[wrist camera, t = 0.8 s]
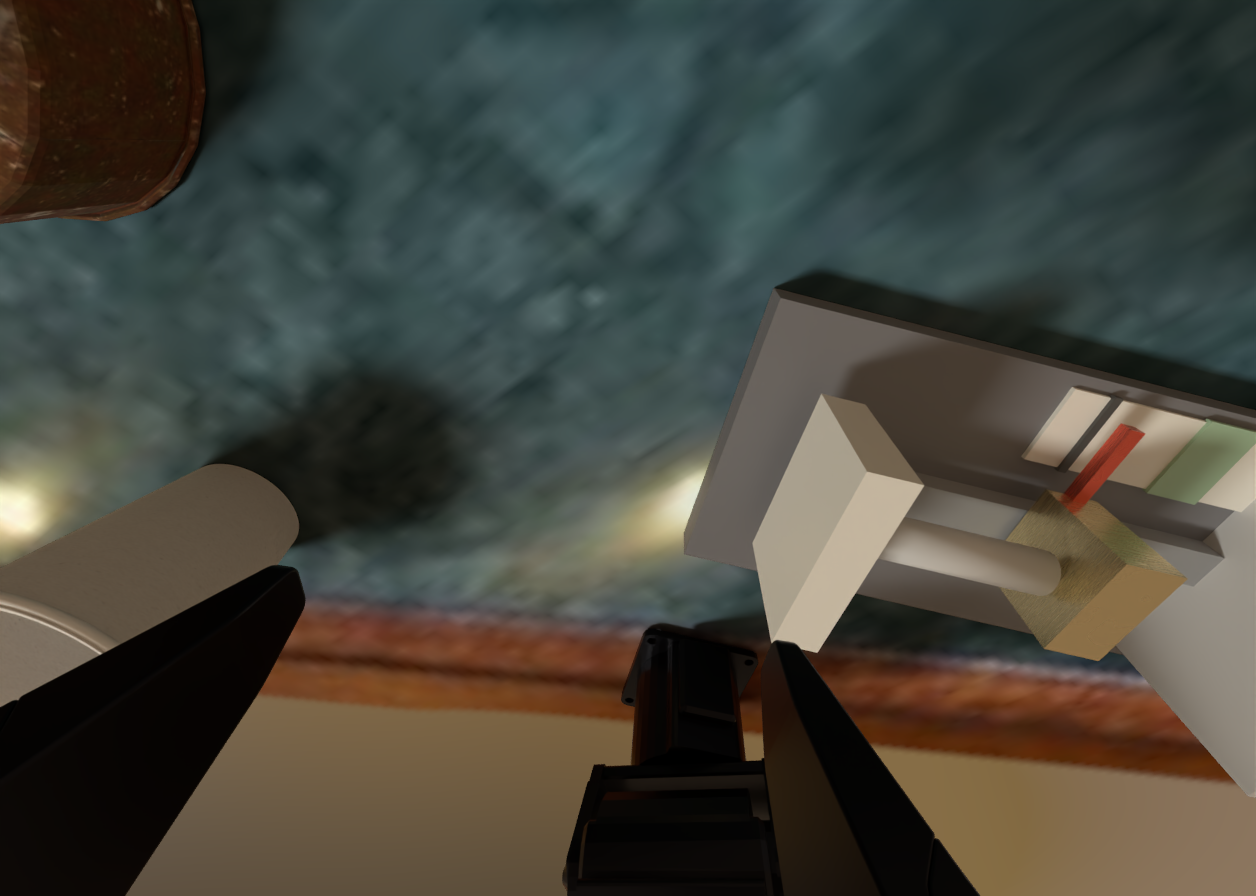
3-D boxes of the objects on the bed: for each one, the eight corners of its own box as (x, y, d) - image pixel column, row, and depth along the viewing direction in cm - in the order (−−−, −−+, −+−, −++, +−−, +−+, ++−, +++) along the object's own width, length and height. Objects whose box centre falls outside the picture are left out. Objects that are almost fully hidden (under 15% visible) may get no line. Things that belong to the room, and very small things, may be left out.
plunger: (952, 589, 22) (1020, 698, 18) (752, 543, 22) (771, 642, 17) (1059, 451, 18) (1176, 545, 14) (821, 393, 18) (866, 471, 14)
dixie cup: (318, 462, 25) (127, 631, 16) (330, 585, 29) (183, 770, 20) (141, 421, 24) (-151, 571, 16) (179, 551, 29) (-35, 725, 20)
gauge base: (1144, 639, 26) (1326, 832, 19) (683, 533, 25) (686, 692, 18) (1369, 439, 20) (1767, 607, 13) (773, 287, 19) (834, 376, 12)
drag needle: (1029, 576, 21) (1098, 661, 18) (983, 565, 21) (1043, 648, 18) (1154, 431, 18) (1271, 501, 14) (1100, 418, 18) (1204, 485, 14)
